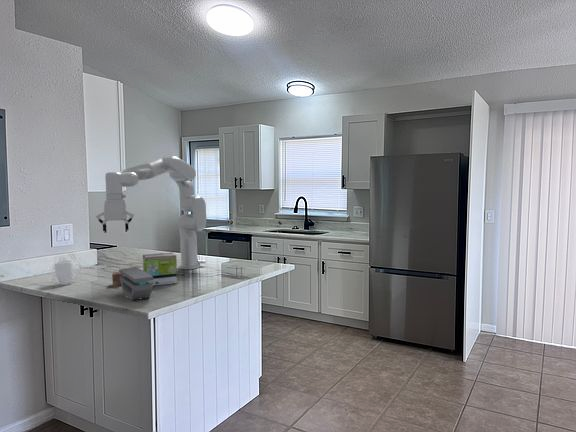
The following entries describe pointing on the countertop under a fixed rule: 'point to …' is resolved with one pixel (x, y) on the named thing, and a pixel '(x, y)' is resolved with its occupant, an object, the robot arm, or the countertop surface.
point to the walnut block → (116, 278)
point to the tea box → (161, 267)
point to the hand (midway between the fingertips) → (116, 232)
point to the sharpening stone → (136, 283)
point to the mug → (65, 271)
